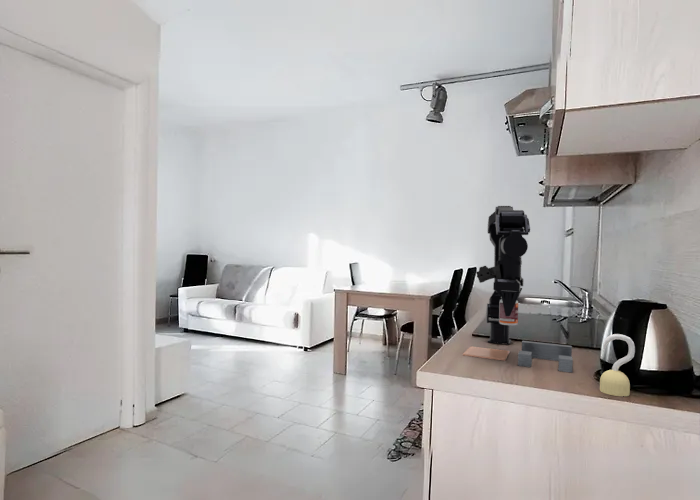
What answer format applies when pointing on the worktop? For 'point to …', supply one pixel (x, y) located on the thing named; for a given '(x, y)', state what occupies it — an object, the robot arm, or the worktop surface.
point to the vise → (546, 354)
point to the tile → (486, 353)
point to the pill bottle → (508, 319)
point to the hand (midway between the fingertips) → (508, 314)
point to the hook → (614, 379)
